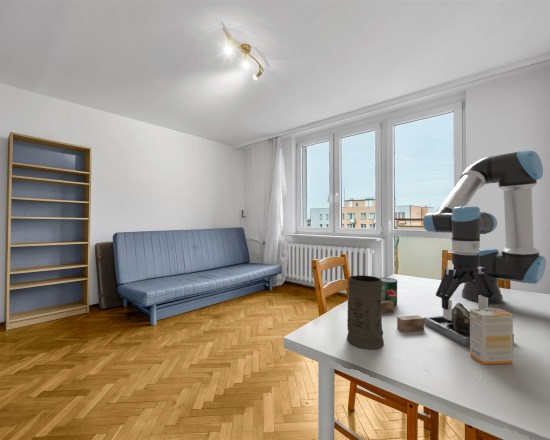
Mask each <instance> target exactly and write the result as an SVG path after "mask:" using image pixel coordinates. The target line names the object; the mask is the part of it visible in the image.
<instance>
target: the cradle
mask: <svg viewBox="0 0 550 440" xmlns="http://www.w3.org/2000/svg"><path fill="white" fill-rule="evenodd" d="M390 313H395V307H394V302H392V301H390V300H384V301H381V314H390ZM396 317H397V318H396V319H397V321H396V328H397V330H399V331H401V332H402V333H407V332H416V331H417V332H418V331H419V332H420V331H425V324H424V317H422V316H420V315H419V314H416V315H402V316H396Z"/></svg>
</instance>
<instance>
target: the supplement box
mask: <svg viewBox="0 0 550 440" xmlns="http://www.w3.org/2000/svg"><path fill="white" fill-rule="evenodd" d="M469 312H470V347H469V356H471V358H473V359H475V360H476V361H478V362H479V363H480V364H482V365H497V364H498V365H500V364H501V365H502V364H513V363H514V348H513V347H514V346H513V345H514V342H513V334H514V331H513V330H514V326H513V324H514V323H513V322H514V314H513V313H511V312H508V311H505V310H504V309H501V308H488V309H478V308H470V309H469Z"/></svg>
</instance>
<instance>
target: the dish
mask: <svg viewBox="0 0 550 440" xmlns="http://www.w3.org/2000/svg"><path fill="white" fill-rule="evenodd" d="M423 318H424V326H425V327H426V326H427V327H429V328H430V329H432V330H434V331H435V332H438V333H439V334H441V335H443V336H445V337H447V338H448V339H450V340H451V341H454V342H455V343H457V344H459V345H461V346H463V347H464V348H470V331H464V330H463V331H459V332H455V331H454V328H453V324H452V323H448V322H447V321H446V319H445V318H443V315H435V316H434V315H433V316H424V317H423ZM514 337H515V335H514V333H513V343H514V341H515V340H514V339H515V338H514Z"/></svg>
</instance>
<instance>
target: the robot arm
mask: <svg viewBox="0 0 550 440" xmlns="http://www.w3.org/2000/svg"><path fill="white" fill-rule="evenodd" d="M543 174H544V167H543V163H542V159H541V158H540V156H539V154H538V153H537V151H534V150H523V151H521V150H520V151H516V152H510V153H503V154H498V155H491V156H486V157H484V158H481V159H479V160H477V161H475V162H473V163H472V164H471V165H470V166H467V168H465V170H464V171H463V172H462V173H461V174H460V176H459V178H458V179H459V181H458V182H457V184H456V185H455V186H454V188H453V189H452V190H451V192H450V193H449V195H448V196H447V197H446V198H445V199H444V201H443V202H442V203H441V205H440V206H439V207H438V209H437V210H436V211H435V212H430V213H425V215H424V216H423V218H422V224H423V228H424V229H425V230H426V231H427V232H432V233H451V235H452V236H451V251H452V252H453V253H452V254H451V263H452V265H453V268H448V267H446V268H444V272H443V273H444V274H443V277H442V279H441V281H440V284H439V286H438V287H437V290H436V292H435V296H436V298H437V297H438V298H440V299H441V308H442V316H443V318H445V319H448V320H450V321H451V320H452V309H453V300H452V299H451V298H452V297H453V294H455V292H456V291H457V289H458V288H459V286H461V284H463V283H464V286H463V288H462V289H461V297H463V298H464V299H465V300H469V301H473V302H477V304H478V306H477V307H478V308H477V309H489V305H490V304H502V303H503V301H504V297H503V294H502V293H501V292H502V291H501V289H500V287H499V284H498V282H499V280H504V281H511V282H518V283H521V284H531V285H536V284H538V283H540V282H541V281H542V279H543V277H544V275H545V271H546V266H547V261H546V257H545V256H542V255H540V250H539V249H537V248H536V247H535V246H534V222H533V221H534V220H533V217H534V216H533V193H532V192H533V191H532V189H533V188H534V187H535V186H536V185H538V183H537V181H538V180H540V179H542V178H543ZM488 184H498V188H499V189H501V190H502V191H503V206H504V210H503V211H504V229H505V230H504V231H505V246H504V247H503V248H502V249H501V252H500V251H499V249H498V248H481V239H480V238H481V235H486V234H490V233H492V232H493V231H495V229H496V228H497V226H498V220H497V218H496V217H495V216H494V215H493V214H492V213H489V212H485V211H483V212H482V211H481V208H480V207H479V206H468V204H469V203H470V201H471V200H472V198H473V197H474V195H475V194H476V192H477V191H478V190H480V189H481V188H483V187H484V186H485V185H488Z"/></svg>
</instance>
